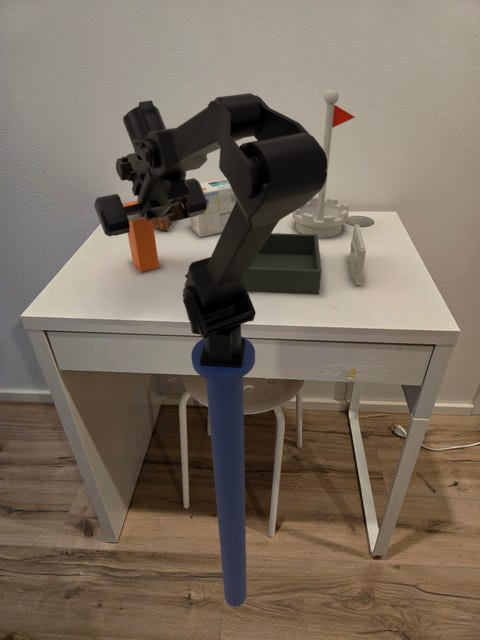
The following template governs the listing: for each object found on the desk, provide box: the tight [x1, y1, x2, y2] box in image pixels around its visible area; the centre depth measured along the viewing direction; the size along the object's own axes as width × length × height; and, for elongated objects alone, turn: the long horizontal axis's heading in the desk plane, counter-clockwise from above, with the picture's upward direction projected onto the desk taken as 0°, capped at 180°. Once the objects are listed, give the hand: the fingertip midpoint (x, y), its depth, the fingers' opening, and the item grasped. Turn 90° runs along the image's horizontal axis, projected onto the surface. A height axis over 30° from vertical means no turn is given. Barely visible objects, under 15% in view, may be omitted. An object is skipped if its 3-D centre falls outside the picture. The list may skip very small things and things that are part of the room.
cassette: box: [348, 223, 367, 286], centre depth 86 cm, size 12×2×8 cm, turn 174°
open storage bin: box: [243, 232, 322, 295], centre depth 87 cm, size 15×15×5 cm
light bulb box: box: [189, 177, 236, 238], centre depth 103 cm, size 11×7×11 cm, turn 116°
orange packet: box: [122, 200, 160, 273], centre depth 88 cm, size 5×4×13 cm
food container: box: [152, 217, 176, 233], centre depth 106 cm, size 12×6×10 cm, turn 172°
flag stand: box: [291, 88, 356, 239], centre depth 96 cm, size 13×13×30 cm
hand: (145, 225), depth 83 cm, fingers open, 9 cm apart
